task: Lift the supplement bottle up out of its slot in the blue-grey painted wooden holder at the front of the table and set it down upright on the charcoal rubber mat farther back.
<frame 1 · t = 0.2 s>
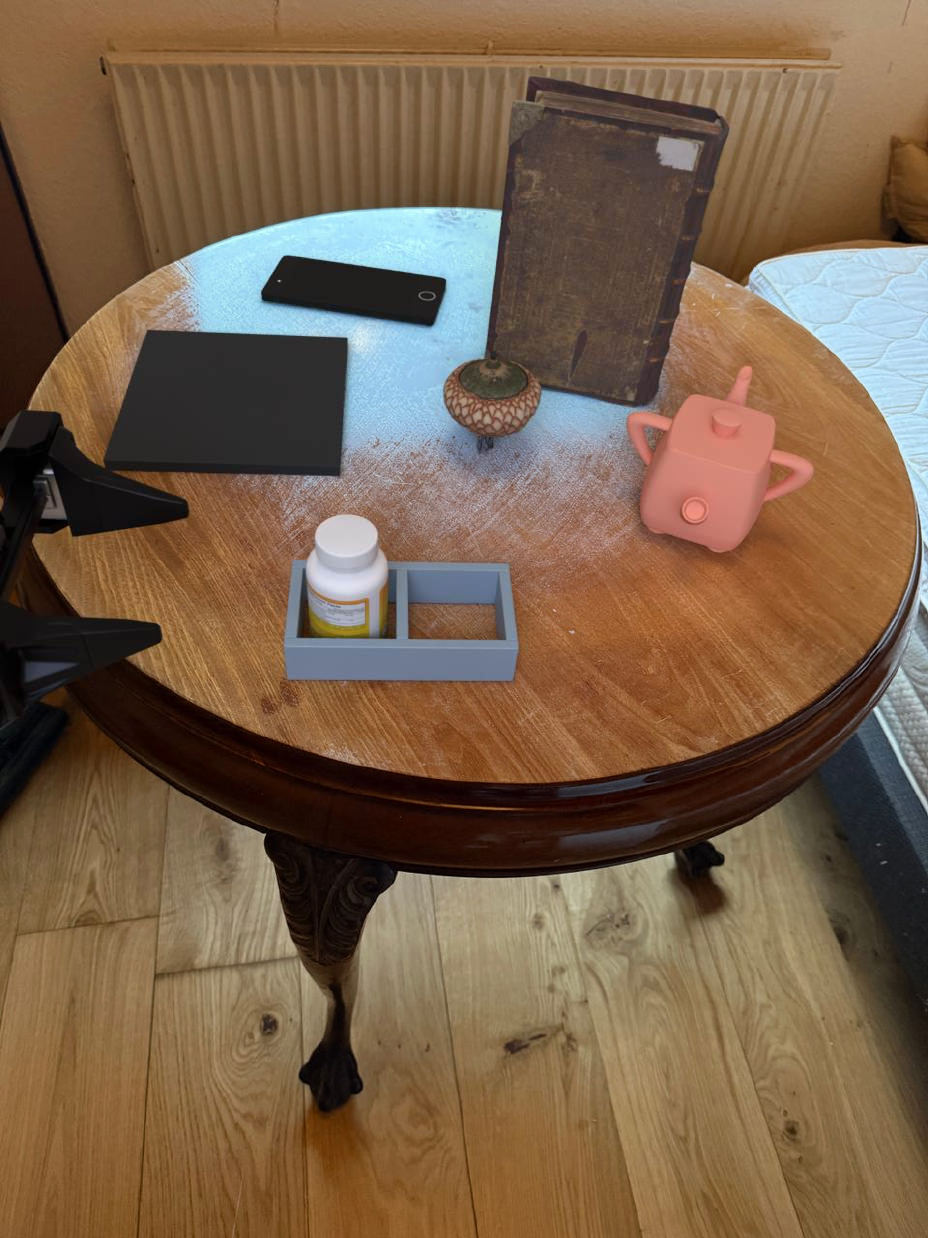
hand: (175, 566, 48), 15 cm above the table, tool horizontal, fingers open, 9 cm apart
holder: (400, 636, 66), on the table
supplement bottle: (349, 637, 66), resting in holder
teapot: (693, 517, 77), on the table
cell phone: (355, 295, 97), on the table
book: (570, 384, 89), on the table
mat: (237, 402, 83), on the table
acorn: (485, 452, 81), on the table
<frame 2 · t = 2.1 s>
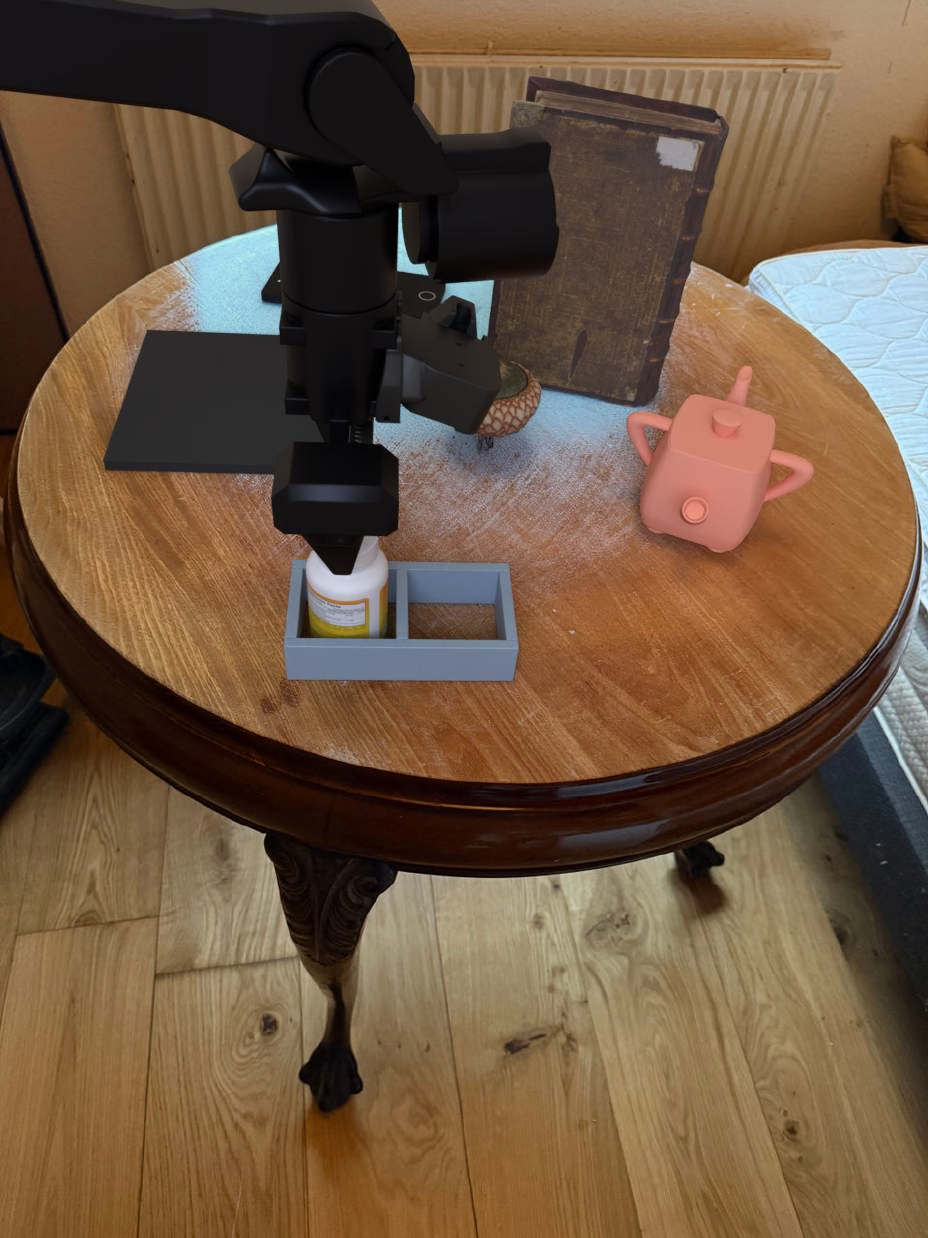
hand: (345, 521, 57), 11 cm above the table, tool pointing down, fingers open, 9 cm apart
nothing on the table moved.
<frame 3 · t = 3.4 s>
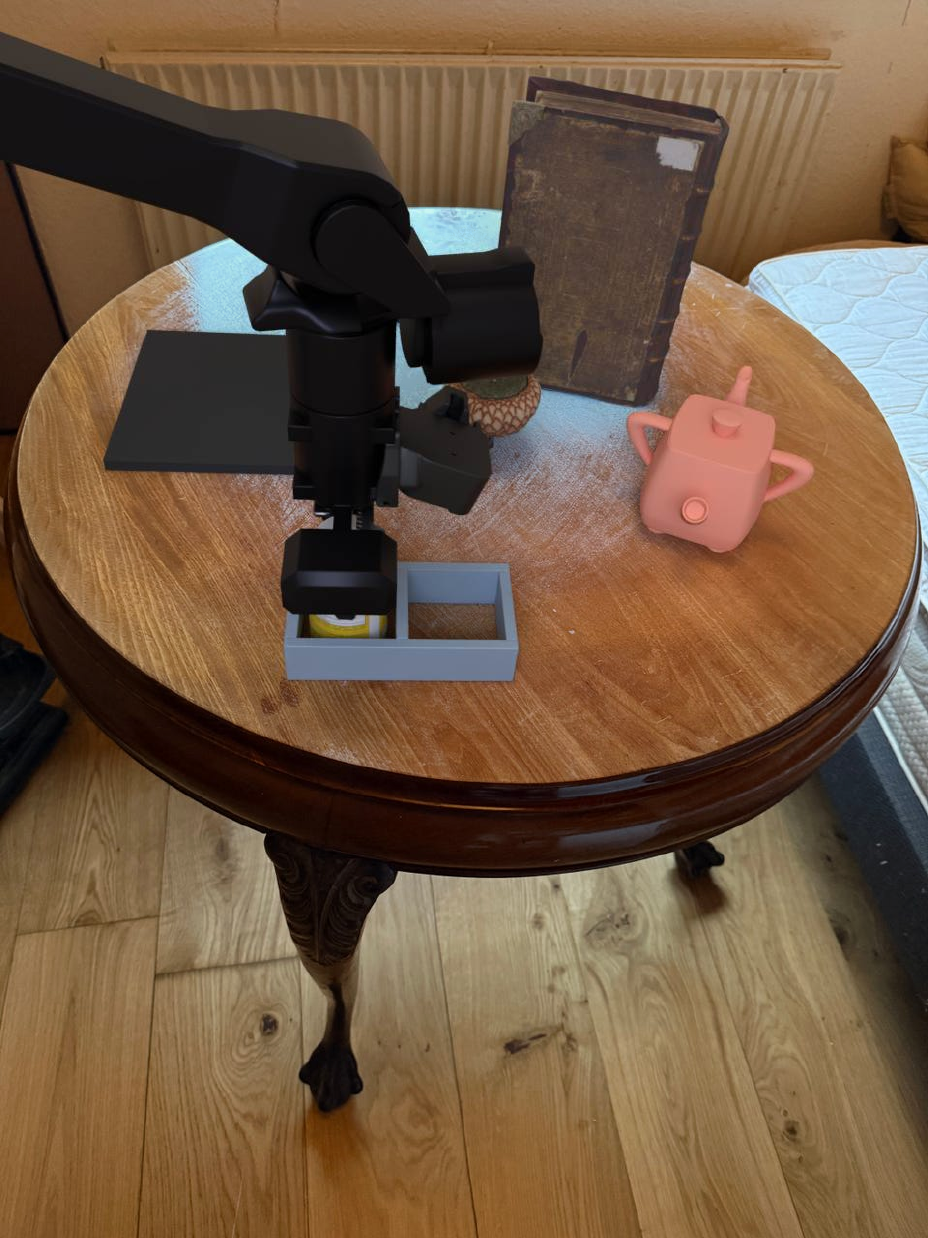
hand: (347, 586, 62), 5 cm above the table, tool pointing down, fingers closed on supplement bottle, 5 cm apart
supplement bottle: (349, 637, 66), resting in holder, touching gripper
everything else where it was.
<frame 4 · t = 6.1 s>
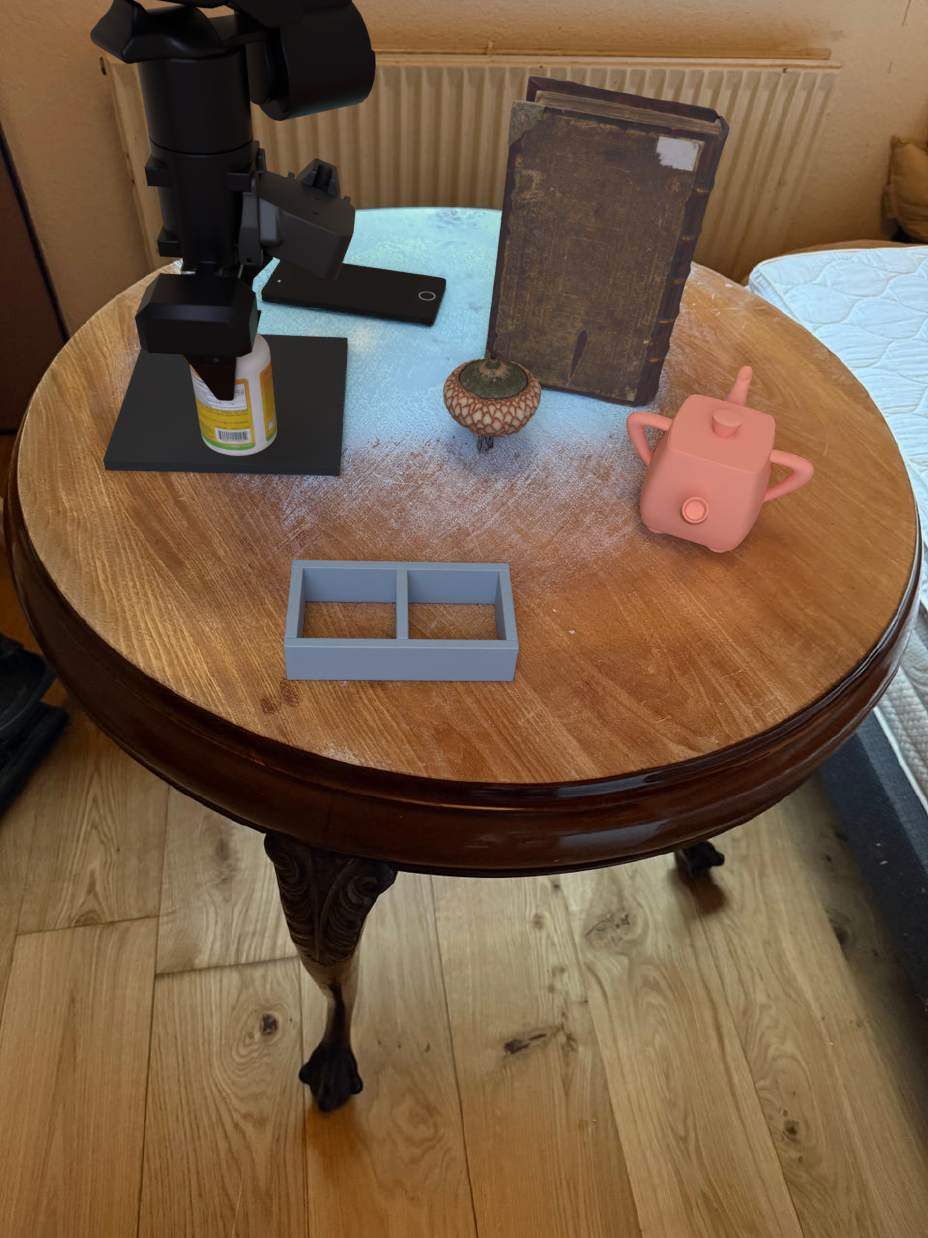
hand: (231, 375, 63), 13 cm above the table, tool pointing down, fingers closed on supplement bottle, 5 cm apart
supplement bottle: (240, 437, 67), point 8 cm above the table, touching gripper
everything else where it was.
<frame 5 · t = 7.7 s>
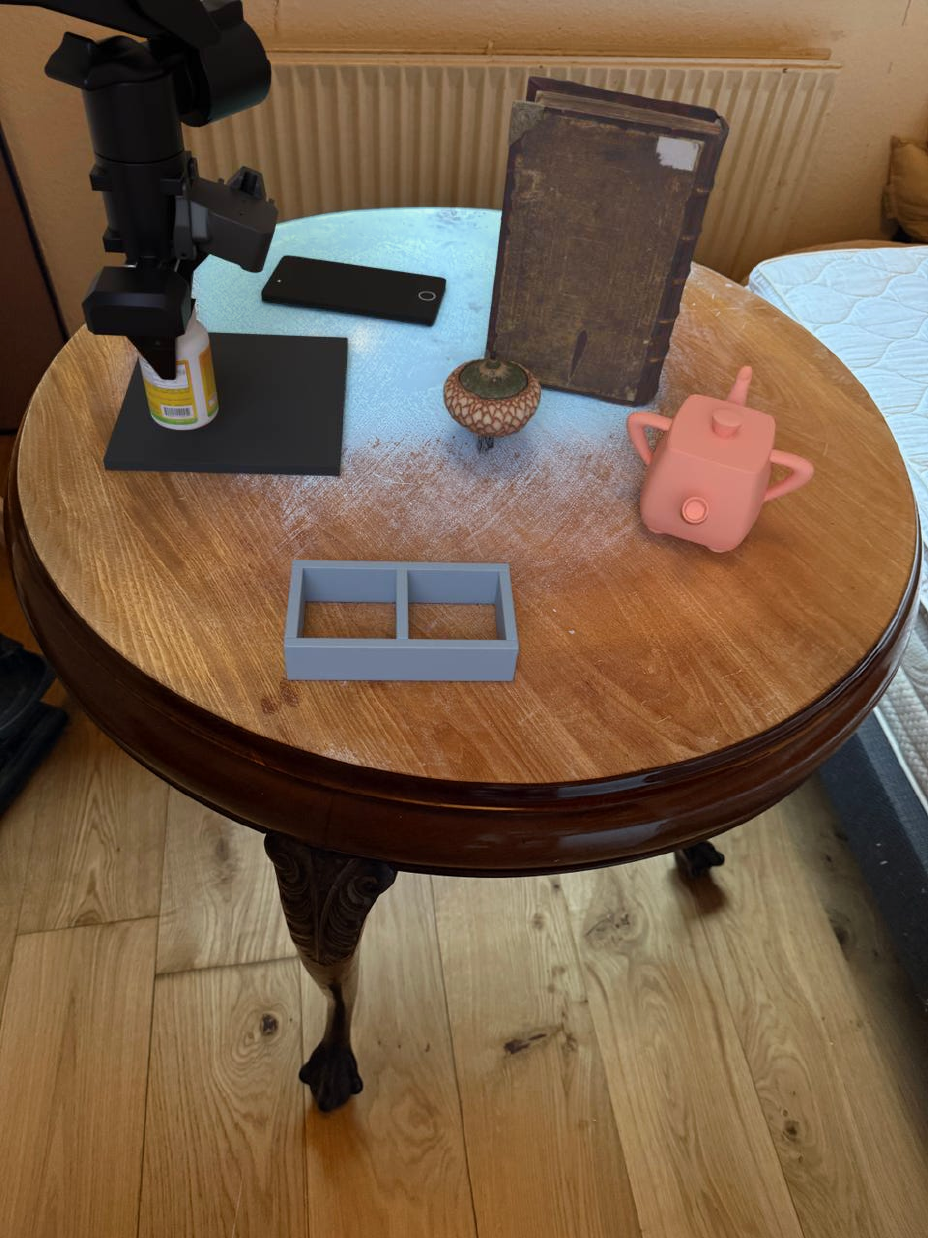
hand: (174, 358, 71), 9 cm above the table, tool pointing down, fingers closed on supplement bottle, 5 cm apart
supplement bottle: (185, 414, 75), point 4 cm above the table, touching gripper
everything else where it was.
when the fingers open (6 cm above the table, at t = 8.9 s): supplement bottle stays where it is, resting on mat.
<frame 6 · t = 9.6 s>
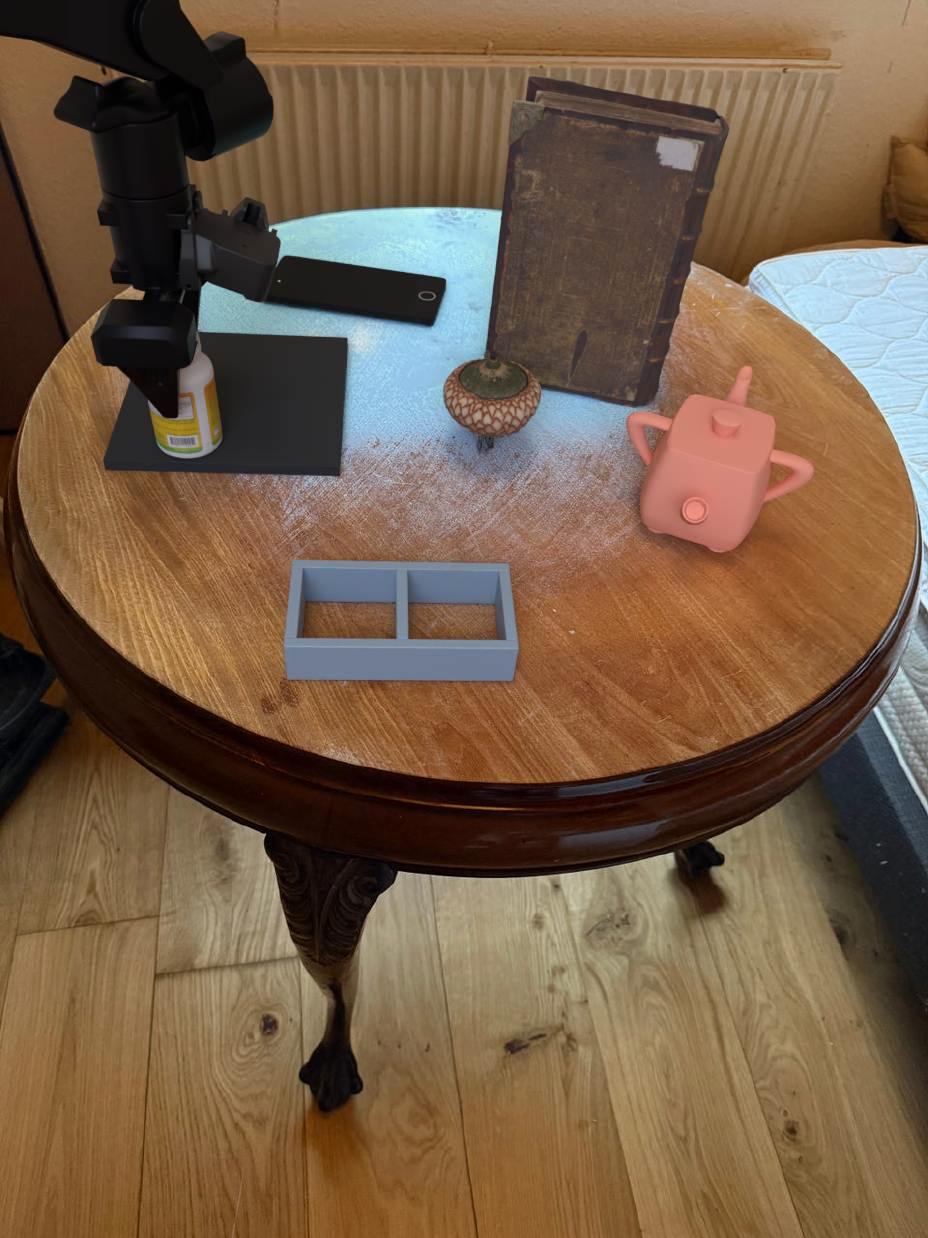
hand: (180, 382, 73), 7 cm above the table, tool pointing down, fingers open, 9 cm apart
supplement bottle: (190, 442, 77), point 1 cm above the table, touching mat
everything else where it was.
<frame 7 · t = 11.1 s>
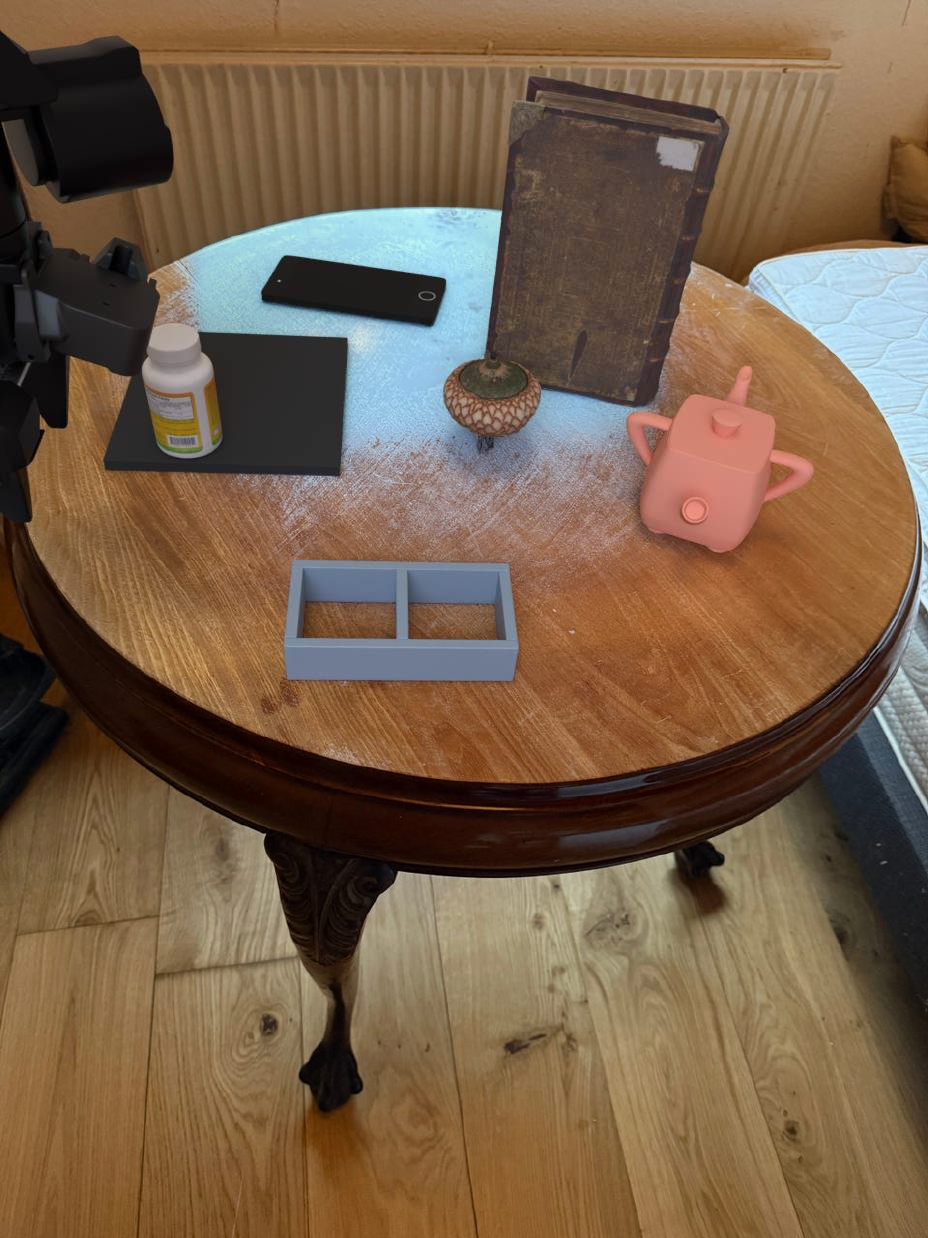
hand: (41, 471, 57), 12 cm above the table, tool pointing down, fingers open, 9 cm apart
nothing on the table moved.
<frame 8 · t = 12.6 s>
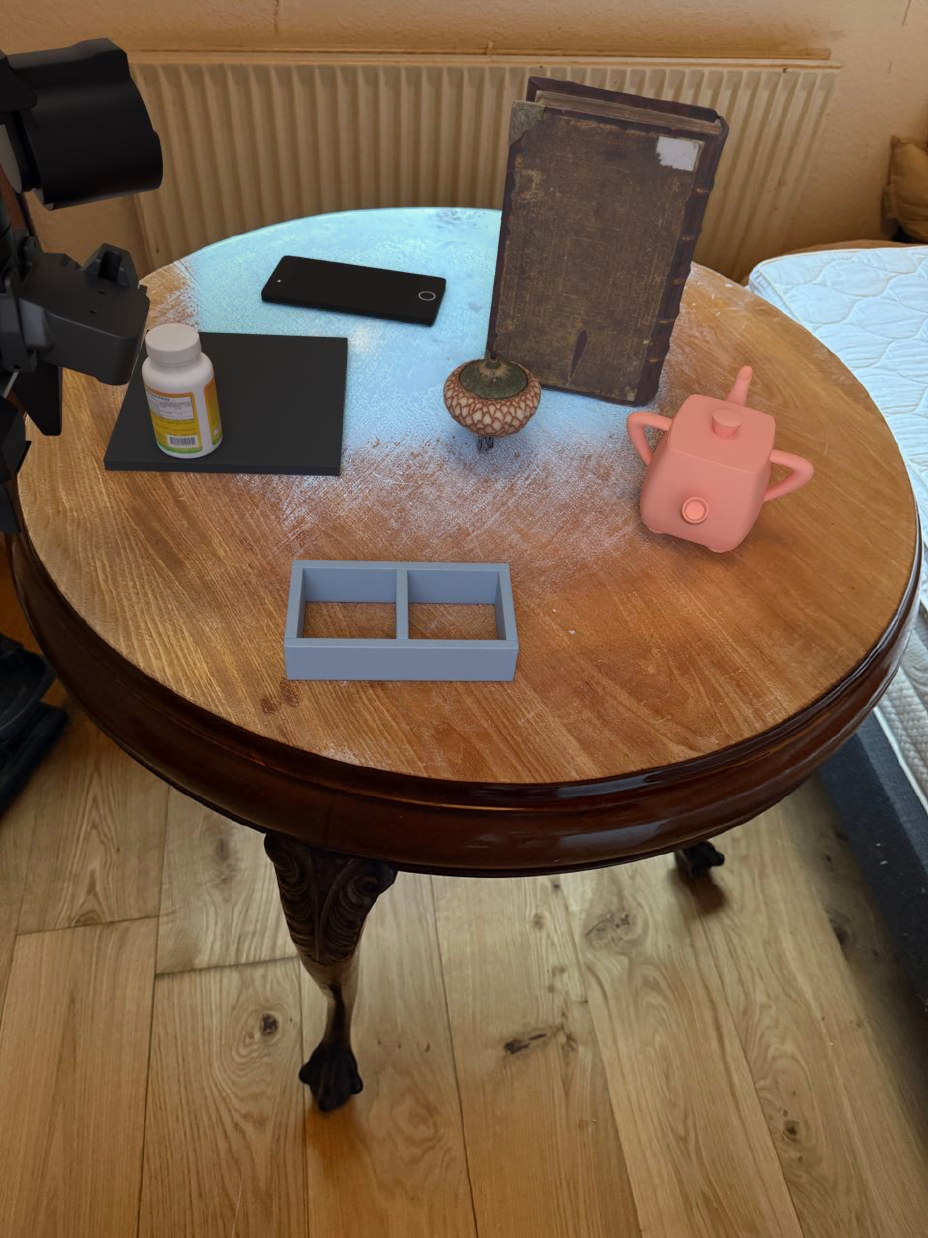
hand: (34, 480, 56), 12 cm above the table, tool pointing down, fingers open, 9 cm apart
nothing on the table moved.
at the end: supplement bottle inside the target area on the mat (7.7 cm from its centre), point 0.8 cm above the mat's base; supplement bottle tilted 0°; the gripper is holding nothing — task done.
